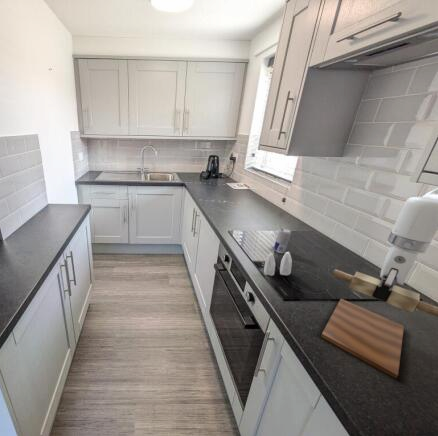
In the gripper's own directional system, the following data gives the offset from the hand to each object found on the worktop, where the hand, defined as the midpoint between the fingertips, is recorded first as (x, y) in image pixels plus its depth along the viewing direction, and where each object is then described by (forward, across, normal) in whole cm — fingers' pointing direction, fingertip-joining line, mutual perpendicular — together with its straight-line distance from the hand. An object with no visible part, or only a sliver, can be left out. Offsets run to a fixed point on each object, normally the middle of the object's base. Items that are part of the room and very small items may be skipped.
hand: (380, 294), depth 70 cm
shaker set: (+12, +6, +30) cm, 33 cm away
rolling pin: (+1, 0, 0) cm, 1 cm away
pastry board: (+12, -6, 0) cm, 13 cm away
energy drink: (+12, +28, +37) cm, 48 cm away
